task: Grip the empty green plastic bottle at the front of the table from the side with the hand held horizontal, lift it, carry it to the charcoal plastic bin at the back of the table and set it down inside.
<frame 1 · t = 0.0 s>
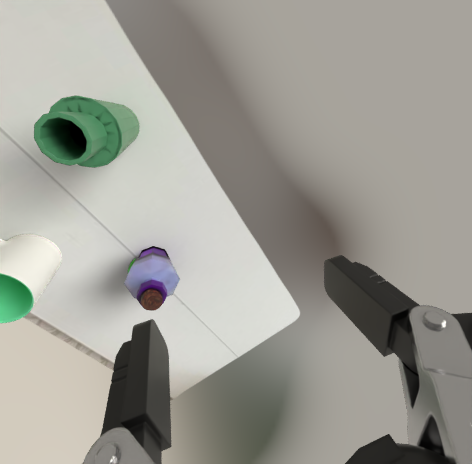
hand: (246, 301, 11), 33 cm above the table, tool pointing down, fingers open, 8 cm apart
potion bottle: (154, 258, 45), on the table
mug: (21, 247, 38), on the table
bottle: (119, 124, 35), on the table
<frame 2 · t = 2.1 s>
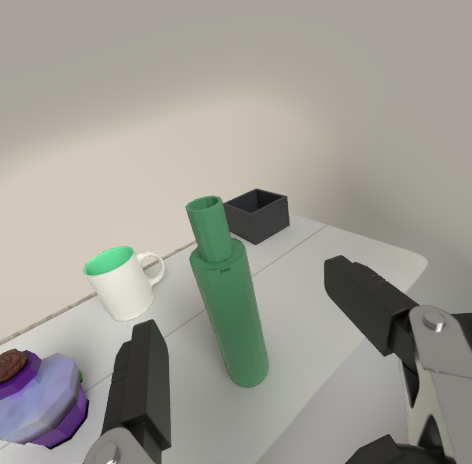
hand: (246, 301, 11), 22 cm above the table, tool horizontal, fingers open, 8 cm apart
potion bottle: (66, 421, 29), on the table
bin: (258, 228, 62), on the table
mug: (143, 298, 47), on the table
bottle: (248, 366, 31), on the table
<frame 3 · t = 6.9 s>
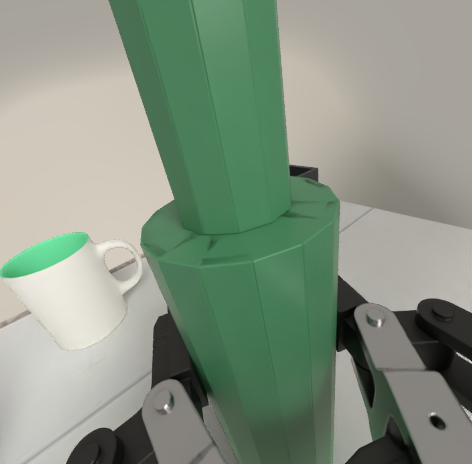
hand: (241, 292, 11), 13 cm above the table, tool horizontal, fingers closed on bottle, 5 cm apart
bin: (275, 213, 46), on the table
mug: (110, 312, 31), on the table
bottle: (287, 463, 15), on the table, touching gripper
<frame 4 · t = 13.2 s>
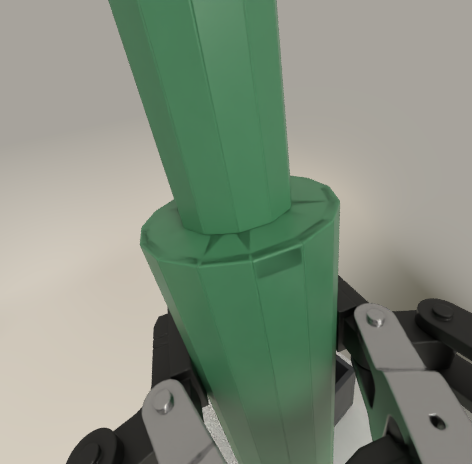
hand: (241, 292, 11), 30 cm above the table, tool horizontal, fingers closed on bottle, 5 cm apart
bin: (292, 399, 34), on the table
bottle: (287, 463, 15), point 17 cm above the table, touching gripper
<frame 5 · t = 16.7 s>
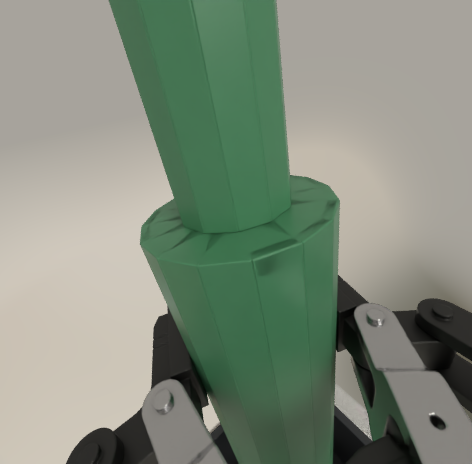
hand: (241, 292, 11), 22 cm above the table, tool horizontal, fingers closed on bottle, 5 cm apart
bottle: (287, 463, 15), point 10 cm above the table, touching gripper
when the fingers open (13 cm above the table, at t = 19.6 s): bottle stays where it is, resting on bin.
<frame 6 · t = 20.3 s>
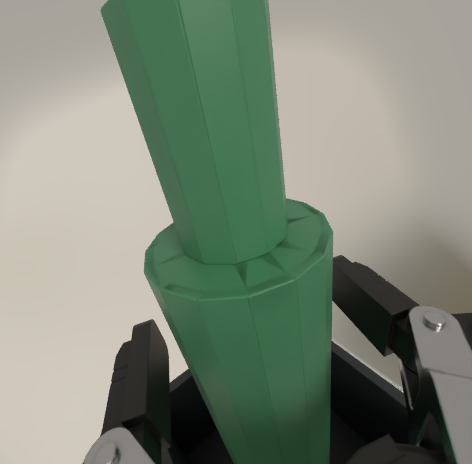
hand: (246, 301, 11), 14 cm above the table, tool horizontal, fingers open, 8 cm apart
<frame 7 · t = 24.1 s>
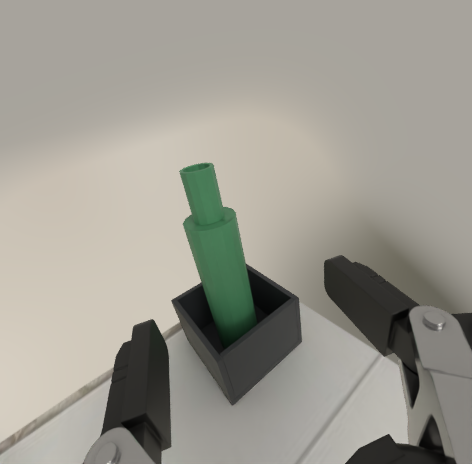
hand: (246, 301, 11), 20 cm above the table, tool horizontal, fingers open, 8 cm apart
bin: (241, 340, 33), on the table
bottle: (240, 337, 32), point 1 cm above the table, touching bin
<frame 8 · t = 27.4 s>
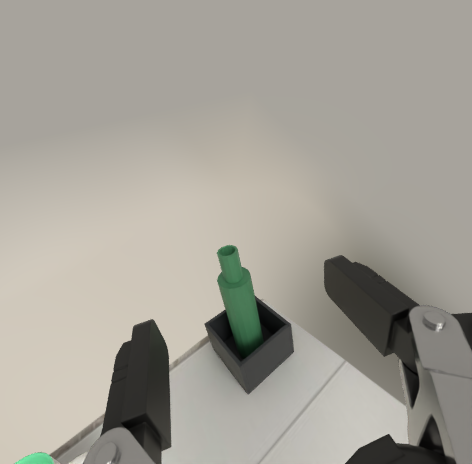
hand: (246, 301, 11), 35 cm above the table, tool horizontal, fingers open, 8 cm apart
bin: (252, 350, 47), on the table
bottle: (251, 348, 46), point 1 cm above the table, touching bin
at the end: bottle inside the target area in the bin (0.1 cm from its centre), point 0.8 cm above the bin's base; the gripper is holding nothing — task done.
